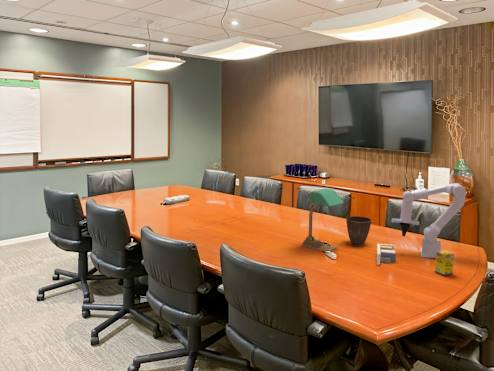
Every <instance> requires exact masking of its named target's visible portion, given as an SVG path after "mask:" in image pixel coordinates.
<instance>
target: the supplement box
mask: <svg viewBox="0 0 494 371" xmlns="http://www.w3.org/2000/svg"><path fill="white" fill-rule="evenodd" d="M454 259H455V253H454V252H451V251H450V250H445V249H444V250H440V251H437V252H436V258H435V264H434V265H435V268H434V273H436V274H438V275H441V276H442V277H446V276H450V275H453V274H454V273H453V270H454V262H455V261H454Z"/></svg>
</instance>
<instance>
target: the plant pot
mask: <svg viewBox="0 0 494 371" xmlns="http://www.w3.org/2000/svg"><path fill="white" fill-rule="evenodd" d="M345 220H346V228H347V233H348V237H349V241H350V243H351V245H352V246H354V247H355V246H356V247H363V246H364V245H365V243H366V240H367V238H368V236H369V233H370V229H371V226H372V221H373V220H372V218H370V217H366V216H361V215H360V216H359V215H358V216H357V215H351V216H347V217H346V219H345Z"/></svg>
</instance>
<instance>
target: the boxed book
mask: <svg viewBox="0 0 494 371" xmlns="http://www.w3.org/2000/svg"><path fill="white" fill-rule="evenodd" d="M380 253H381V255H380V257H385V258H391V261H390V263H394V262H397V251H396V250H395V249H394V250H382V249H381V250H380Z"/></svg>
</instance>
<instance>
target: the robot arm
mask: <svg viewBox="0 0 494 371" xmlns="http://www.w3.org/2000/svg"><path fill="white" fill-rule="evenodd" d="M442 193H445V194H446V193H447V194H450V195H452V200H453V202H452V203H450V205H449V206H448V207H447V208H446V209H445V210H444V211H443V212H442V213H441V215H439V216H438V217H437V219H436V220H435V221H434V222H433V223H431V224H430V225H429V226H427V227H425V228H424V229H423V232H422V233H423V234H422V235H424V237H422V245H421V246H422V247H421V251H420V257H421V258H427V259H428V258H430V259H436V252H437V251H442V250H441V248H442V246H441V244H442V243H441V241H440V240H437V239H438V236H439V234H440V233H441V231H442V229H443V228H444V227H445V226H446V225H447V224H448V223H449V222H450V221H451V220H452V219H453V217H455V215H456V214H457V213H458V212H459V211H460V210H461V209H462V207H464V205H465V201H466V196H467V190H466V188H465V187H464V186H463V185H461V184H460V183H458V182H454V183H447V184H442V185H439V186H435V187H433V188H432V187H431V188H428V189H427V188H425V187H423V186H422V187H419V188H417V189H411V190H406V191H405V192H403V194H402V195H401V196H402V201H401V202H402V203H401V210H400V218H391V223H396V224H399V225H400V228H401V236H402V237H406V235H407V232H408V230H409V228H410V227H411V225H416V226H420V221H418V220H412V214H413V207H414V206H413V203H414V201H420V200H424V199H427V198H428V197H429V196H431V195H432V196H433V195H436V194H442Z"/></svg>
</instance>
